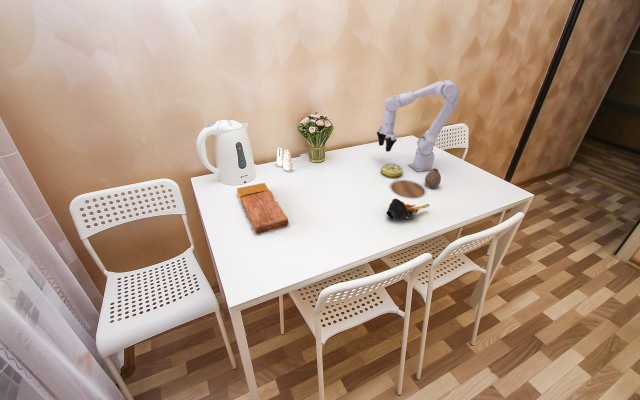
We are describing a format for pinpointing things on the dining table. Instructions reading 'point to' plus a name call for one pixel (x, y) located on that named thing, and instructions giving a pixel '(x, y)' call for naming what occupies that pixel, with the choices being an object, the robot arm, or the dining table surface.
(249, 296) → the dining table surface
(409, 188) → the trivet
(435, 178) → the vase
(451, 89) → the robot arm
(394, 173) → the decorated donut
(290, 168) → the shaker set
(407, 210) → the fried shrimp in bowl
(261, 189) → the brown wooden board
